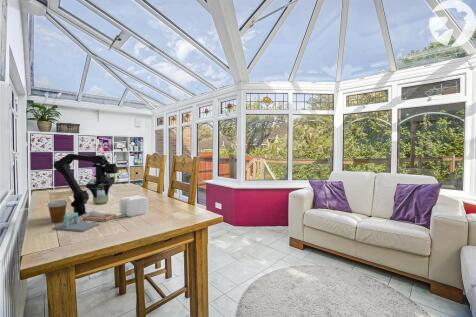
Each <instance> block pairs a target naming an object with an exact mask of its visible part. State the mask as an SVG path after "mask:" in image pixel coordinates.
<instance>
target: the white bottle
mask: <svg viewBox="0 0 476 317" xmlns="http://www.w3.org/2000/svg"><path fill="white" fill-rule="evenodd" d="M108 214H109V212H108V211H106V210H105V211H104V210H103V211H102V210H91V211H90V212H89V215H90V216H91V217H99V218H106V217H107V216H108Z"/></svg>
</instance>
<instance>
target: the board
mask: <svg viewBox="0 0 476 317" xmlns="http://www.w3.org/2000/svg"><path fill="white" fill-rule="evenodd" d="M98 226H100V223H99V222H88V221H87V222H86V221H78V223H74V220H69V226H68V227H64V223H61V224H59V225H56V226H53V227H52V229H53V230H59V231H71V232H82V233H83V232H86V231H88V230H91V229H93V228H95V227H98Z"/></svg>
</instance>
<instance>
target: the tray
mask: <svg viewBox="0 0 476 317" xmlns="http://www.w3.org/2000/svg"><path fill="white" fill-rule="evenodd" d="M116 218H117V214H116V213H115V214H112V213H108V216H107V217H106V218H99V217H91V216H90V214H88V215H86V216H83V221H92V220H95V221H94V222H106V223H107V222H108V221H110V219H111V220H113V219H116Z"/></svg>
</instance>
